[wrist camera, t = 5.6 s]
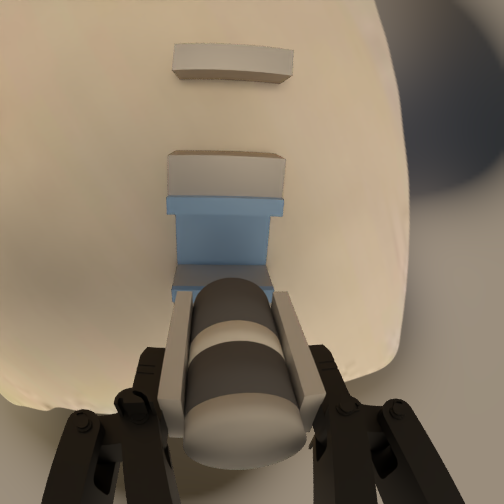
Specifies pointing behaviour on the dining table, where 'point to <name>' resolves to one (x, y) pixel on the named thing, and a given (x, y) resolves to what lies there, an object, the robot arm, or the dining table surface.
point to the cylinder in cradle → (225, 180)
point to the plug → (238, 382)
